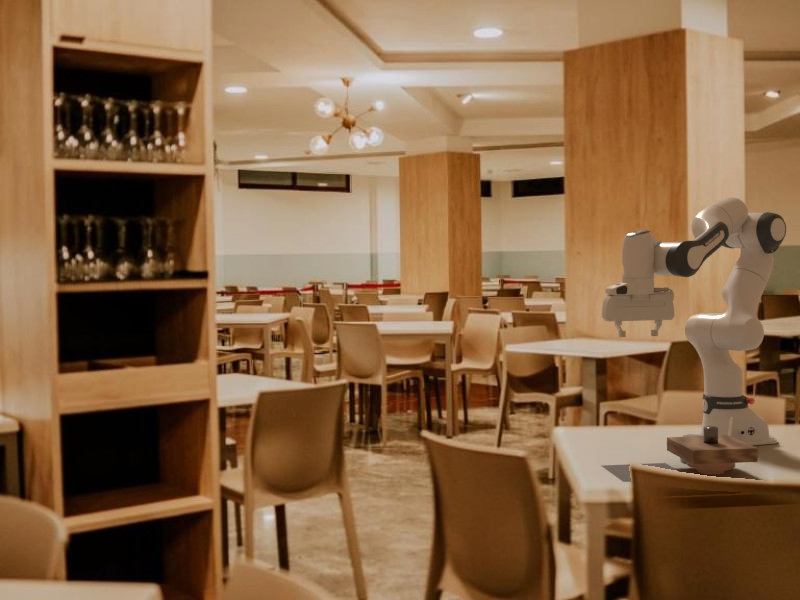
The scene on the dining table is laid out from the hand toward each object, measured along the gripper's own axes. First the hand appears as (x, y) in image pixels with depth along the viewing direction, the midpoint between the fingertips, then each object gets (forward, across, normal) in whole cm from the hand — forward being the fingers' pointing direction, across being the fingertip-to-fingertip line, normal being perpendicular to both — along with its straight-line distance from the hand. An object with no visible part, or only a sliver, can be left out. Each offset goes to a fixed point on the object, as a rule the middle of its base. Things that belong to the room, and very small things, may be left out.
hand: (638, 336), depth 263 cm
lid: (+30, -11, +23) cm, 39 cm away
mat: (+34, +6, +21) cm, 40 cm away
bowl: (+34, -11, +23) cm, 43 cm away
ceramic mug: (+34, -13, +10) cm, 38 cm away
